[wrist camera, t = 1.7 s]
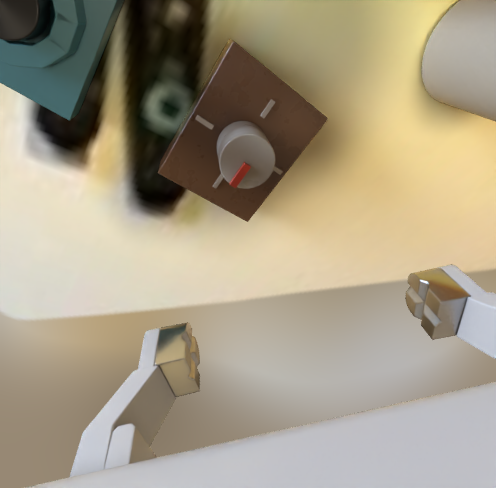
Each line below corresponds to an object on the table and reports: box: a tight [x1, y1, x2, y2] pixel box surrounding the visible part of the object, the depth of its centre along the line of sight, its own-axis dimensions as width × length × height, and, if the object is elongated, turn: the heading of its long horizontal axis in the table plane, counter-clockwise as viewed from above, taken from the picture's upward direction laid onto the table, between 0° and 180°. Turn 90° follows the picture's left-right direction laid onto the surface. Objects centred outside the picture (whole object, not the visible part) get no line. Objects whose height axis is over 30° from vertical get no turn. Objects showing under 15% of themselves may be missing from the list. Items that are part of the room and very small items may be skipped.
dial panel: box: [158, 39, 328, 222], centre depth 26 cm, size 11×9×3 cm
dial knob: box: [217, 121, 275, 189], centre depth 24 cm, size 4×4×4 cm
